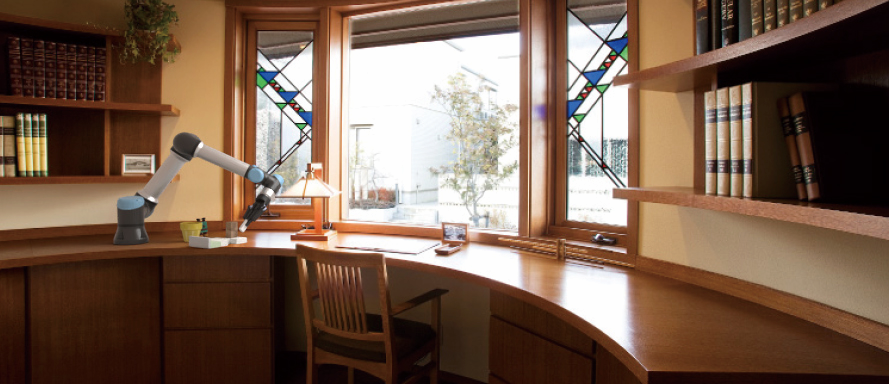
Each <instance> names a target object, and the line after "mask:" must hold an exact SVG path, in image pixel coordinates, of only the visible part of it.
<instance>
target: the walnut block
mask: <svg viewBox="0 0 889 384" xmlns="http://www.w3.org/2000/svg"><path fill="white" fill-rule="evenodd" d="M238 224H239V223H238V221H226V222H225V238H236V237H239V236H238V234H239V233H238V230H239V227H238Z"/></svg>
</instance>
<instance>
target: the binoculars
mask: <svg viewBox="0 0 889 384" xmlns="http://www.w3.org/2000/svg"><path fill="white" fill-rule="evenodd" d="M196 222H202V229H201V231H200V235H199V237H208V236H209V234H208V232H209V230H208V223H207V221H206V217H201V218H196Z"/></svg>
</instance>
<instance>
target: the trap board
mask: <svg viewBox="0 0 889 384" xmlns="http://www.w3.org/2000/svg"><path fill="white" fill-rule="evenodd" d="M246 243H248V237H245V236H244V237H243V236H238V237H236V238H226V237H208V236H203V237H197V236H189V242H188V246H189V247H193V248H201V249H202V248H203V249H214V248H220V247H226V246H229V244H233V245H239V244H240V245H241V244H246Z"/></svg>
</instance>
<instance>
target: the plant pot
mask: <svg viewBox="0 0 889 384" xmlns="http://www.w3.org/2000/svg"><path fill="white" fill-rule="evenodd" d="M179 228H180V229H179V230H181V233H182V237H183V242H185V243H189V236H197V237H199V235H200V231H201V229H202V221H200V222H197V221H184V222H180V223H179Z"/></svg>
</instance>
